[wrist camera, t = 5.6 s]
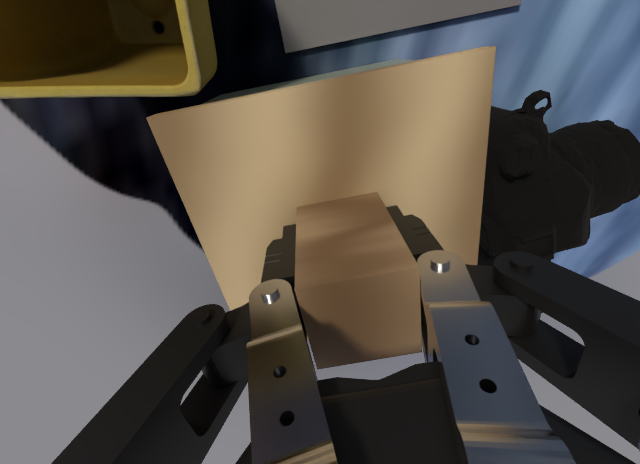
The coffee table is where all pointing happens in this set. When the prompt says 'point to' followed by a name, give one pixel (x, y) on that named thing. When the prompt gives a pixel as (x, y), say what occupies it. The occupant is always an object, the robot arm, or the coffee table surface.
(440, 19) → the mat
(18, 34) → the flower pot
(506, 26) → the coffee table surface
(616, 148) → the film camera
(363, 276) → the lid
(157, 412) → the robot arm
